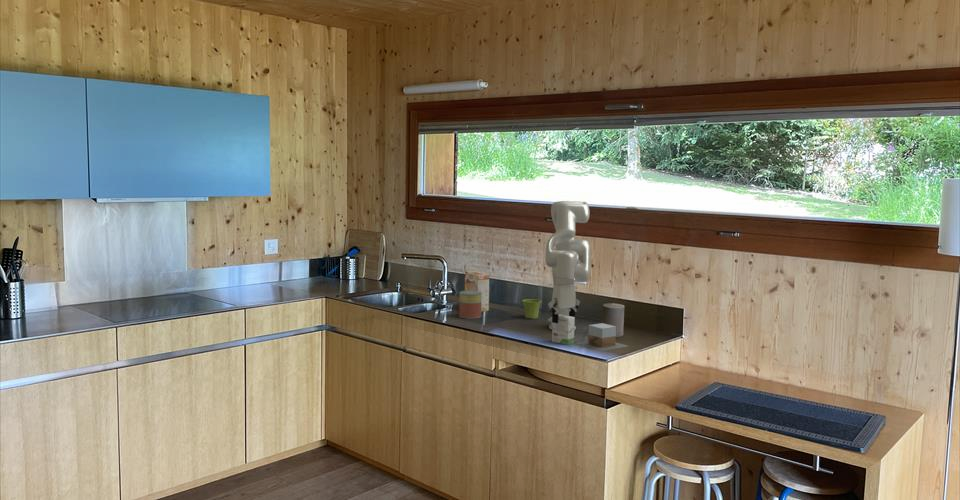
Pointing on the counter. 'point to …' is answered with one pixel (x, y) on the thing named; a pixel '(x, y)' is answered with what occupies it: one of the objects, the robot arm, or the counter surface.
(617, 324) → the pillar candle
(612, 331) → the top slab
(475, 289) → the coffeecake box
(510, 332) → the counter surface
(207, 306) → the counter surface
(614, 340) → the bottom slab
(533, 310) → the plant pot
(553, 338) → the ink box
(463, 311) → the canned food
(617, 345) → the mat
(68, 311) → the counter surface
